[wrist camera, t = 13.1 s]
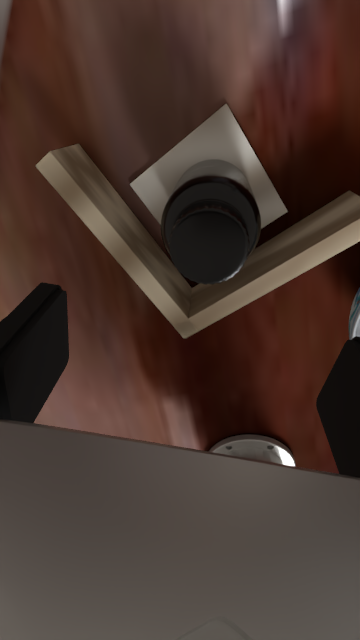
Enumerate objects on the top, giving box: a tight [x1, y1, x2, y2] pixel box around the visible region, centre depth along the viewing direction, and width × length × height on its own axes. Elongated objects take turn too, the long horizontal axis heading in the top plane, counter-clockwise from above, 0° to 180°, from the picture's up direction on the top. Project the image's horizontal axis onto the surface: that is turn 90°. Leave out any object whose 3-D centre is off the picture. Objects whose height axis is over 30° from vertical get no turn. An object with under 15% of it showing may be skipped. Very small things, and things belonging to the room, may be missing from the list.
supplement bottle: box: [161, 159, 261, 285], centre depth 25 cm, size 7×7×12 cm
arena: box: [36, 104, 360, 339], centre depth 27 cm, size 18×18×6 cm
